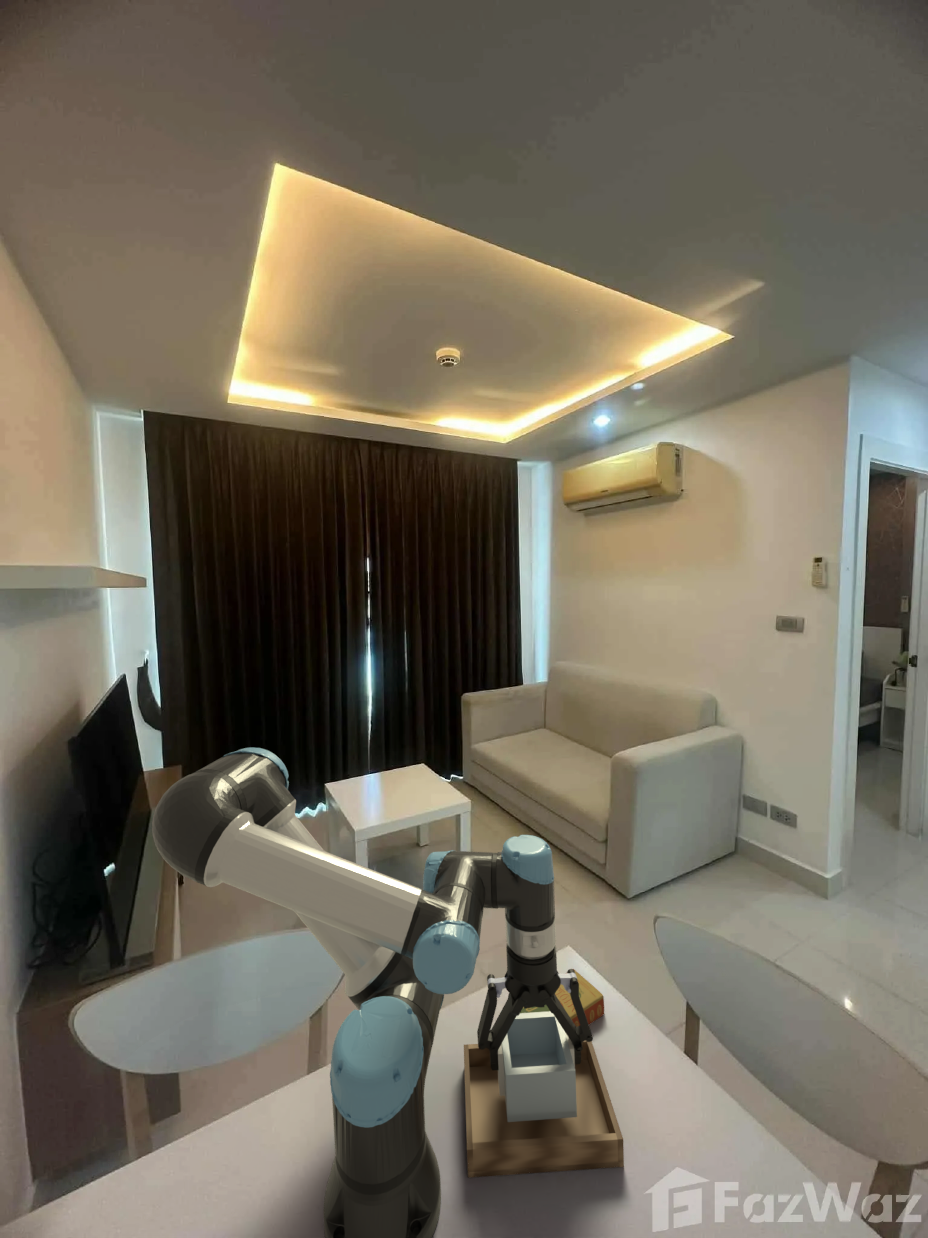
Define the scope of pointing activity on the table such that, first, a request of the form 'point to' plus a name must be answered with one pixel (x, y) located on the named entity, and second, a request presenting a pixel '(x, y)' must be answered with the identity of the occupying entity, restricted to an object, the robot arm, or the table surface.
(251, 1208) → the table surface
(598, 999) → the carton
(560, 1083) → the small crate
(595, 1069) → the crate
